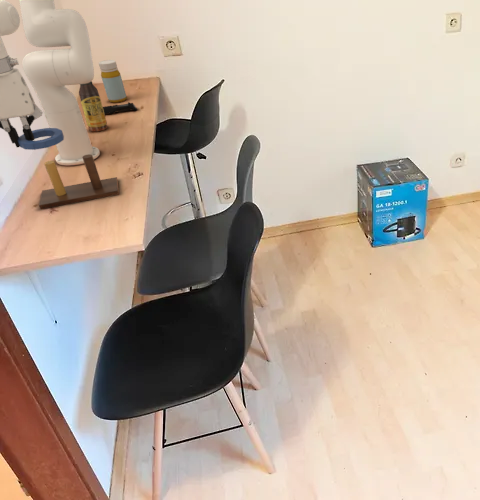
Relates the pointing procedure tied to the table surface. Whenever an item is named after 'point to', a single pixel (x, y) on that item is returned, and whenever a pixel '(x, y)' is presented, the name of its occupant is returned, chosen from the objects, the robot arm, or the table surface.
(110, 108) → the electric trimmer
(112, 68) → the bottle
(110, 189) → the rack
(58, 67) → the robot arm
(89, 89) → the sauce bottle
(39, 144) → the ring
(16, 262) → the table surface
